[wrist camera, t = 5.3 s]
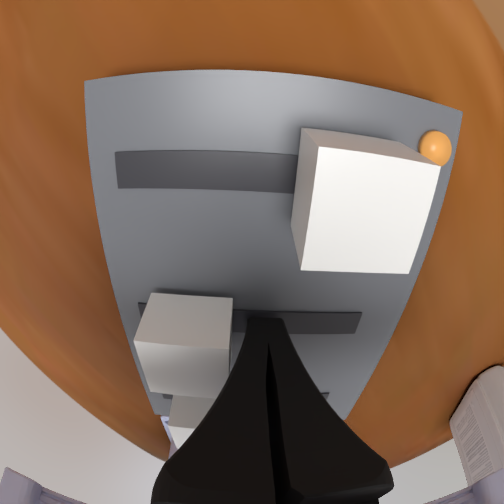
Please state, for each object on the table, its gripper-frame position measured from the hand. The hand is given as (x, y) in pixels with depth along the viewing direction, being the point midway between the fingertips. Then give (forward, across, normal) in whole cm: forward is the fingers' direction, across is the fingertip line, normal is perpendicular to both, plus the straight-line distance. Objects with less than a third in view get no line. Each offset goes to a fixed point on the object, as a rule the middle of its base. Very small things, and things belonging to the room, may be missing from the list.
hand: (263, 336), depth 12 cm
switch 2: (0, -2, -6) cm, 6 cm away
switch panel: (+3, 0, 0) cm, 3 cm away
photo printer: (+3, -22, +13) cm, 25 cm away
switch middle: (0, +3, 0) cm, 3 cm away
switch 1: (0, +2, +6) cm, 7 cm away
